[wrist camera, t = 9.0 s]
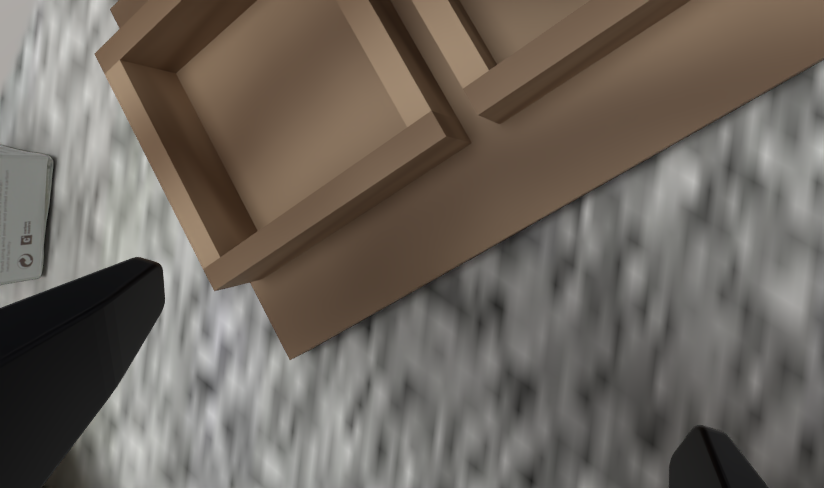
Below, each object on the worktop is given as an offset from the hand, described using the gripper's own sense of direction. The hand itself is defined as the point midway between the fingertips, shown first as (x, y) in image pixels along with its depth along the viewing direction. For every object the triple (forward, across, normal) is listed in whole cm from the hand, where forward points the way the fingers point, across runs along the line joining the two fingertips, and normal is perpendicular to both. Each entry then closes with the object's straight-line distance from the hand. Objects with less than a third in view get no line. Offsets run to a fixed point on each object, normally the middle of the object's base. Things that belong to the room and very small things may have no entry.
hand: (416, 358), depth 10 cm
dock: (+13, +3, -2) cm, 13 cm away
